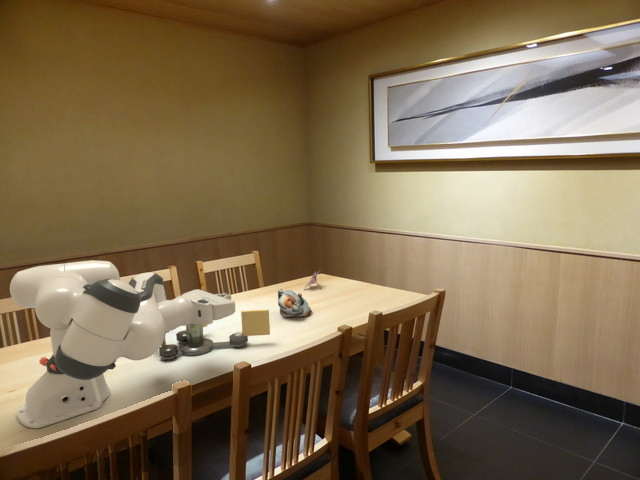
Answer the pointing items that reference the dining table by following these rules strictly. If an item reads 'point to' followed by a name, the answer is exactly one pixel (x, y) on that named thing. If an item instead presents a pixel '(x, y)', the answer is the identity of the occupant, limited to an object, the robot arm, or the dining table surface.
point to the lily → (313, 280)
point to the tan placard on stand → (252, 326)
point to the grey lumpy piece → (292, 304)
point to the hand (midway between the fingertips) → (228, 296)
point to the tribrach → (192, 344)
